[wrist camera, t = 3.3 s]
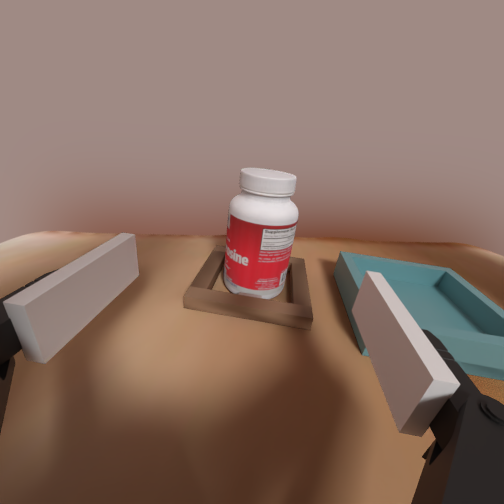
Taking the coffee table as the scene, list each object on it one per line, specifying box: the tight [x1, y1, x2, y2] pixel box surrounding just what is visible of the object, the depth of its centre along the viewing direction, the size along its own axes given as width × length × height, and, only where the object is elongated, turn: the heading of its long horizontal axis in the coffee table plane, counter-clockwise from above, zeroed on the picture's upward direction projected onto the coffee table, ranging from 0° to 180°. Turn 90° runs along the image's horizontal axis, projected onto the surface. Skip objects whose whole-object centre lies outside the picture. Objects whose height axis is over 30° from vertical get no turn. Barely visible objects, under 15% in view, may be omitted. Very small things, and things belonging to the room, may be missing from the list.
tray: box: [334, 251, 504, 381], centre depth 22 cm, size 12×12×3 cm
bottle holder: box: [184, 245, 313, 330], centre depth 25 cm, size 11×11×1 cm
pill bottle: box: [224, 168, 299, 299], centre depth 22 cm, size 6×6×11 cm
